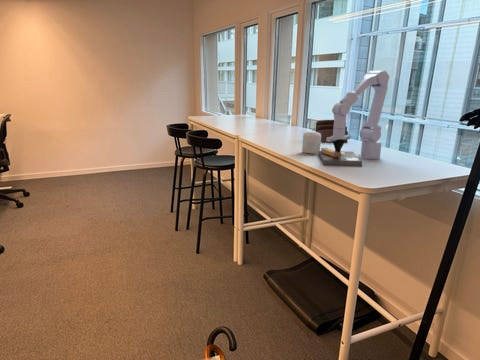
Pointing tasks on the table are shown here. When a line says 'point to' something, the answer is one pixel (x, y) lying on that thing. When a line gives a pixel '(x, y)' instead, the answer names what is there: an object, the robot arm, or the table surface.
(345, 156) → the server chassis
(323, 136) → the letter holder
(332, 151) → the tan grey headed bar
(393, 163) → the table surface
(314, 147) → the photo printer
